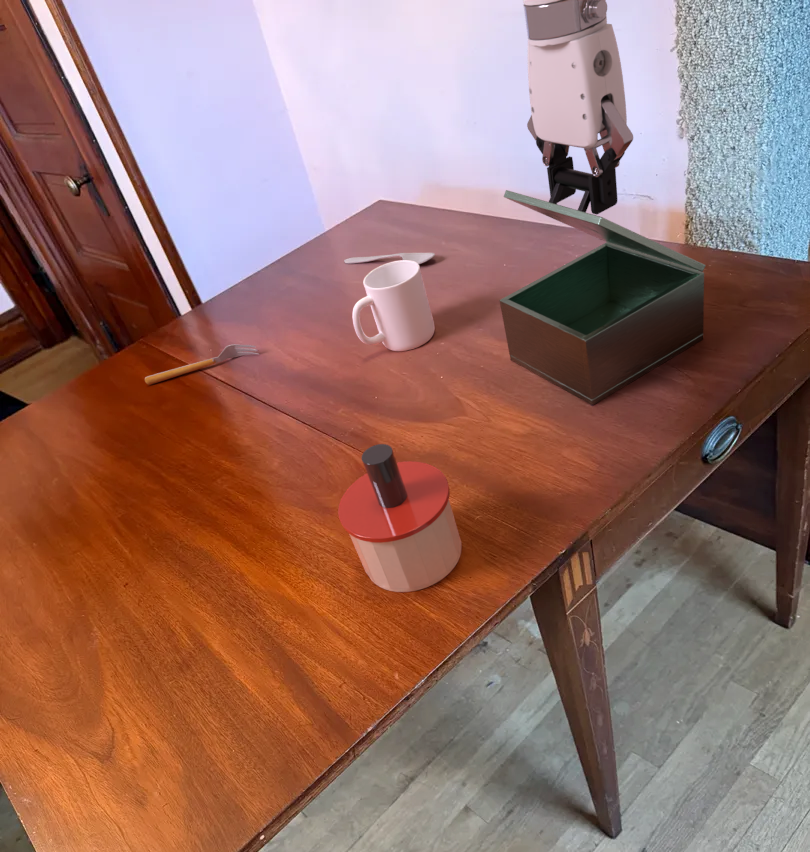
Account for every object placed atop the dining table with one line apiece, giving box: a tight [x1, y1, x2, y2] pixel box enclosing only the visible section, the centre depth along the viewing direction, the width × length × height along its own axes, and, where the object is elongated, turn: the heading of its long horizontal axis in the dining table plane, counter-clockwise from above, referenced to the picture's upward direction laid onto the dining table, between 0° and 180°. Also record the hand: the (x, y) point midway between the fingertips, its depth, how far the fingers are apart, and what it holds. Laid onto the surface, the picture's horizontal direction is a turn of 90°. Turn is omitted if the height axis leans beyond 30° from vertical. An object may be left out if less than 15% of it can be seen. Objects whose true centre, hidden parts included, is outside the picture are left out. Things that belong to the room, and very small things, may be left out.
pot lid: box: [337, 443, 451, 543], centre depth 72 cm, size 11×11×7 cm
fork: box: [144, 343, 261, 386], centre depth 122 cm, size 2×2×20 cm
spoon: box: [343, 252, 436, 265], centre depth 134 cm, size 4×21×2 cm, turn 56°
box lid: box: [503, 167, 707, 273], centre depth 86 cm, size 18×17×5 cm
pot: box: [348, 499, 463, 593], centre depth 76 cm, size 10×10×8 cm
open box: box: [499, 241, 705, 406], centre depth 94 cm, size 18×17×9 cm
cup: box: [351, 259, 436, 352], centre depth 109 cm, size 8×12×10 cm
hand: (583, 202), depth 83 cm, fingers closed on box lid, 6 cm apart
